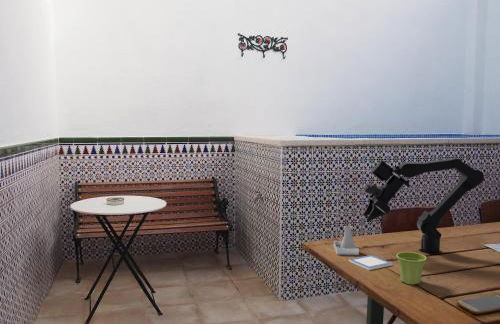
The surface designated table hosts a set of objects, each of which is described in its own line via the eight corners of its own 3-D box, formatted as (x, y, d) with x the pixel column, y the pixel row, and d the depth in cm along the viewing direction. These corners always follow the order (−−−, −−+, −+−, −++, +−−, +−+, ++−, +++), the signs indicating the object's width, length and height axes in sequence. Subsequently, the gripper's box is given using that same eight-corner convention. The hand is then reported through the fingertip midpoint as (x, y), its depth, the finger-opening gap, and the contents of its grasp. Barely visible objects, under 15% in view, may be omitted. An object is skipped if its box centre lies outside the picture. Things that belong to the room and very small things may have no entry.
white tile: (392, 265, 171) (392, 262, 171) (368, 270, 166) (369, 267, 166) (371, 257, 181) (371, 254, 181) (348, 261, 176) (348, 259, 176)
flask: (358, 253, 186) (359, 228, 185) (340, 253, 186) (340, 229, 185) (354, 248, 193) (355, 224, 192) (337, 248, 193) (337, 224, 192)
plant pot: (425, 278, 158) (426, 253, 157) (426, 288, 149) (426, 261, 148) (396, 275, 161) (396, 250, 160) (395, 285, 152) (395, 259, 151)
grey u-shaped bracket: (354, 246, 195) (354, 240, 194) (358, 255, 184) (358, 247, 183) (333, 246, 195) (333, 239, 195) (336, 254, 184) (337, 247, 184)
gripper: (371, 173, 196) (347, 201, 198) (378, 179, 177) (352, 210, 180) (392, 189, 196) (368, 217, 198) (401, 197, 177) (375, 228, 180)
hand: (365, 218), depth 189 cm, fingers open, 9 cm apart
